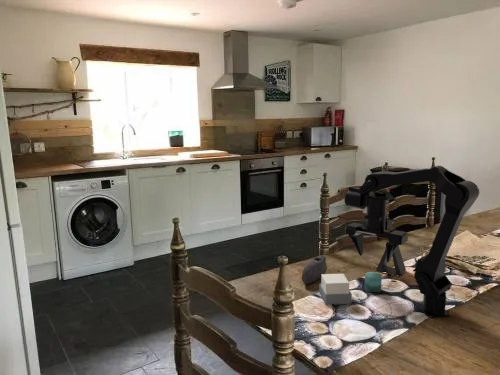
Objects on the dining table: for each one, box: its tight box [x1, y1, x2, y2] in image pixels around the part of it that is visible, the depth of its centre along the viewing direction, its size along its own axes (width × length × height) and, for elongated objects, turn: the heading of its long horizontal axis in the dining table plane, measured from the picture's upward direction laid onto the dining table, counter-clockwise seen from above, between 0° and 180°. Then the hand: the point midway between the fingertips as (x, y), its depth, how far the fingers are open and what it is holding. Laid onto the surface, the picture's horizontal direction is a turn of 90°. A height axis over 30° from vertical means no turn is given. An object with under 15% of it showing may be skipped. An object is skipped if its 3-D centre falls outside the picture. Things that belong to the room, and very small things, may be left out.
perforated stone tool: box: [301, 254, 328, 285], centre depth 138 cm, size 15×5×7 cm, turn 141°
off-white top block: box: [320, 273, 350, 294], centre depth 124 cm, size 7×7×4 cm
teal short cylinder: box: [364, 271, 383, 293], centre depth 130 cm, size 5×5×5 cm
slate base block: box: [318, 283, 353, 306], centre depth 125 cm, size 8×8×4 cm
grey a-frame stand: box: [375, 241, 407, 277], centre depth 144 cm, size 9×6×12 cm, turn 54°
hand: (374, 258), depth 128 cm, fingers open, 9 cm apart
